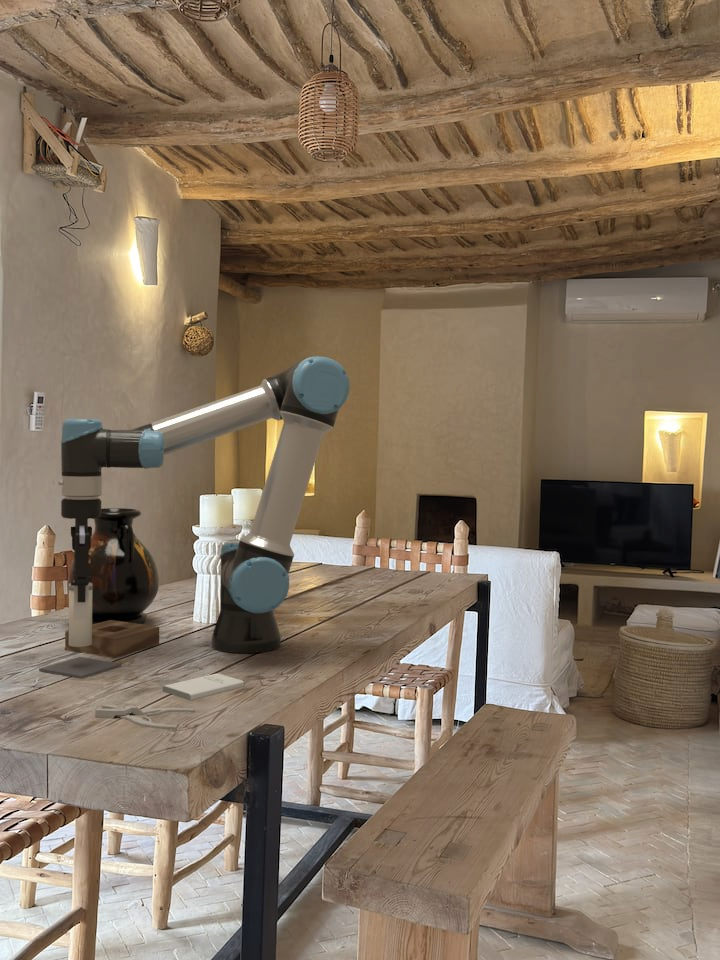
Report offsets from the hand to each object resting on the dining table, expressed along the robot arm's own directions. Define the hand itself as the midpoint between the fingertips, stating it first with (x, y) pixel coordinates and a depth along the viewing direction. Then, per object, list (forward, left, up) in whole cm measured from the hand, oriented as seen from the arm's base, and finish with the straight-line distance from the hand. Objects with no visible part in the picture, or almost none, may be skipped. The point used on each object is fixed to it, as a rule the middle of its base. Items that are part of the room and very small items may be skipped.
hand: (80, 615), depth 178 cm
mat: (0, 0, -11) cm, 11 cm away
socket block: (+7, -17, -11) cm, 21 cm away
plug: (0, 0, -6) cm, 6 cm away
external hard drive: (-29, 0, -11) cm, 32 cm away
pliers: (-31, +18, -11) cm, 37 cm away
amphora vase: (+23, -35, -11) cm, 43 cm away
